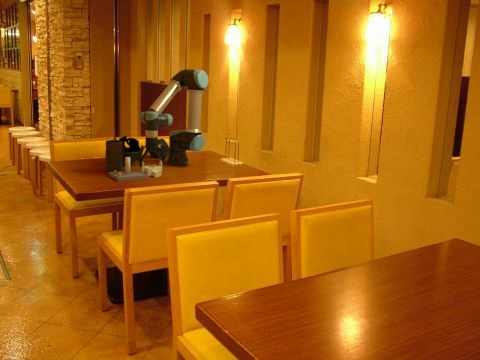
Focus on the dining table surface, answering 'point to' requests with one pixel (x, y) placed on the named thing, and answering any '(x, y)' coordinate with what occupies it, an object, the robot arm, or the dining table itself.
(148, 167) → the square ring
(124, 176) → the post board
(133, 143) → the coal bowl
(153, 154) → the squash
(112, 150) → the beer stein
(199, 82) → the robot arm
